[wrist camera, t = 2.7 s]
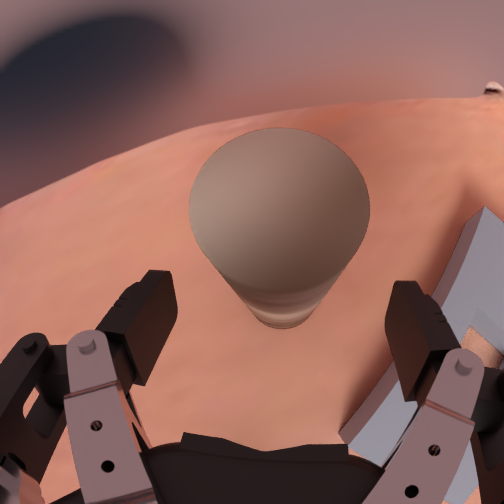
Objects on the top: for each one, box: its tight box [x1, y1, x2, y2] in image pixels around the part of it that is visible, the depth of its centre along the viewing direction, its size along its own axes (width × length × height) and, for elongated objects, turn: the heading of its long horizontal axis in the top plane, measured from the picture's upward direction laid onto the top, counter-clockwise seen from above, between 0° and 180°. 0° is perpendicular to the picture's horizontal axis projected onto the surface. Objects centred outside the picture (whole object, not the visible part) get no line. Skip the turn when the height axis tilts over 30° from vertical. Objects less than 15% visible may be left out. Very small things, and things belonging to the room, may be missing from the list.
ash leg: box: [189, 128, 370, 329], centre depth 13 cm, size 4×4×13 cm
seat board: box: [338, 206, 504, 504], centre depth 15 cm, size 11×18×3 cm, turn 142°
